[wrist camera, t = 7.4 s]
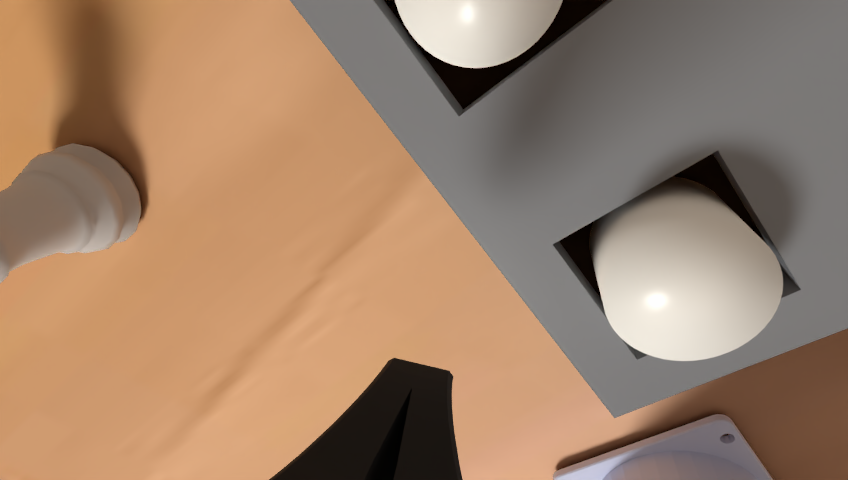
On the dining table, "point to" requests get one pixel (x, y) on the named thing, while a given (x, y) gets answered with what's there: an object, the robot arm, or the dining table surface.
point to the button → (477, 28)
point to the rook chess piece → (66, 206)
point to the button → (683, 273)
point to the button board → (632, 154)
